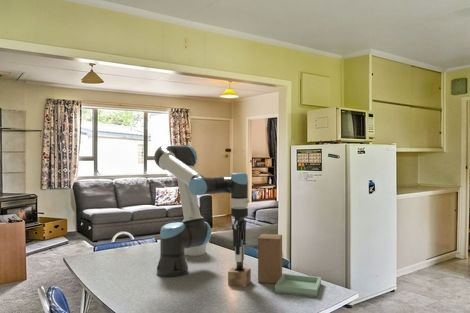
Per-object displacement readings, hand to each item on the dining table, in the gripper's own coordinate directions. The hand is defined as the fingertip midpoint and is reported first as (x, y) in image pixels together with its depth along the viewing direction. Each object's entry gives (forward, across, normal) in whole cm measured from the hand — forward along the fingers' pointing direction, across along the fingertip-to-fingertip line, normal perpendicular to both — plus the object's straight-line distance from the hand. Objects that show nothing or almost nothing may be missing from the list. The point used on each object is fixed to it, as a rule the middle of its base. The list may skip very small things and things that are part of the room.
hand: (239, 260), depth 169 cm
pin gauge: (+5, 0, 0) cm, 5 cm away
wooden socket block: (+10, 0, 0) cm, 10 cm away
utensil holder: (+10, +43, +42) cm, 61 cm away
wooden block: (+10, +9, -12) cm, 18 cm away
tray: (+10, +2, -26) cm, 28 cm away
